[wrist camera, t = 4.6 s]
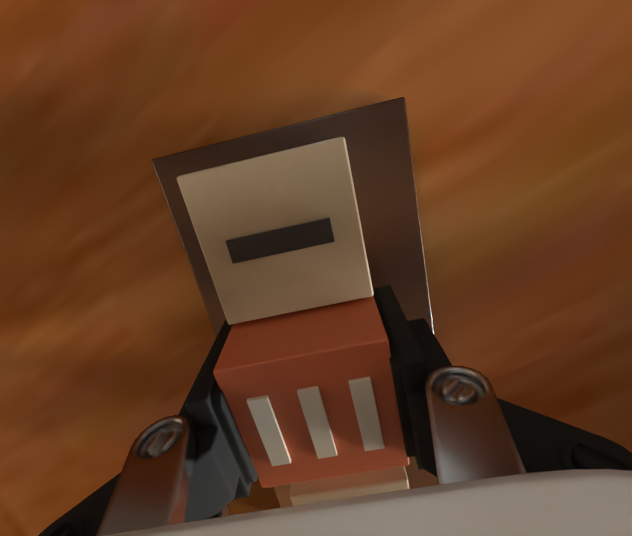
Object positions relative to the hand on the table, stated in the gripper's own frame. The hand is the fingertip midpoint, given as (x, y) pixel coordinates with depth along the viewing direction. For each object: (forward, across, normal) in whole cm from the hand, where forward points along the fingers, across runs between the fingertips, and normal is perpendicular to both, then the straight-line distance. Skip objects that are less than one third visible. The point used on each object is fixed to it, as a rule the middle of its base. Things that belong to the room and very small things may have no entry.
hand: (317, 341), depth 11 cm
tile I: (+3, 0, -4) cm, 5 cm away
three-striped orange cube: (+1, 0, 0) cm, 1 cm away
